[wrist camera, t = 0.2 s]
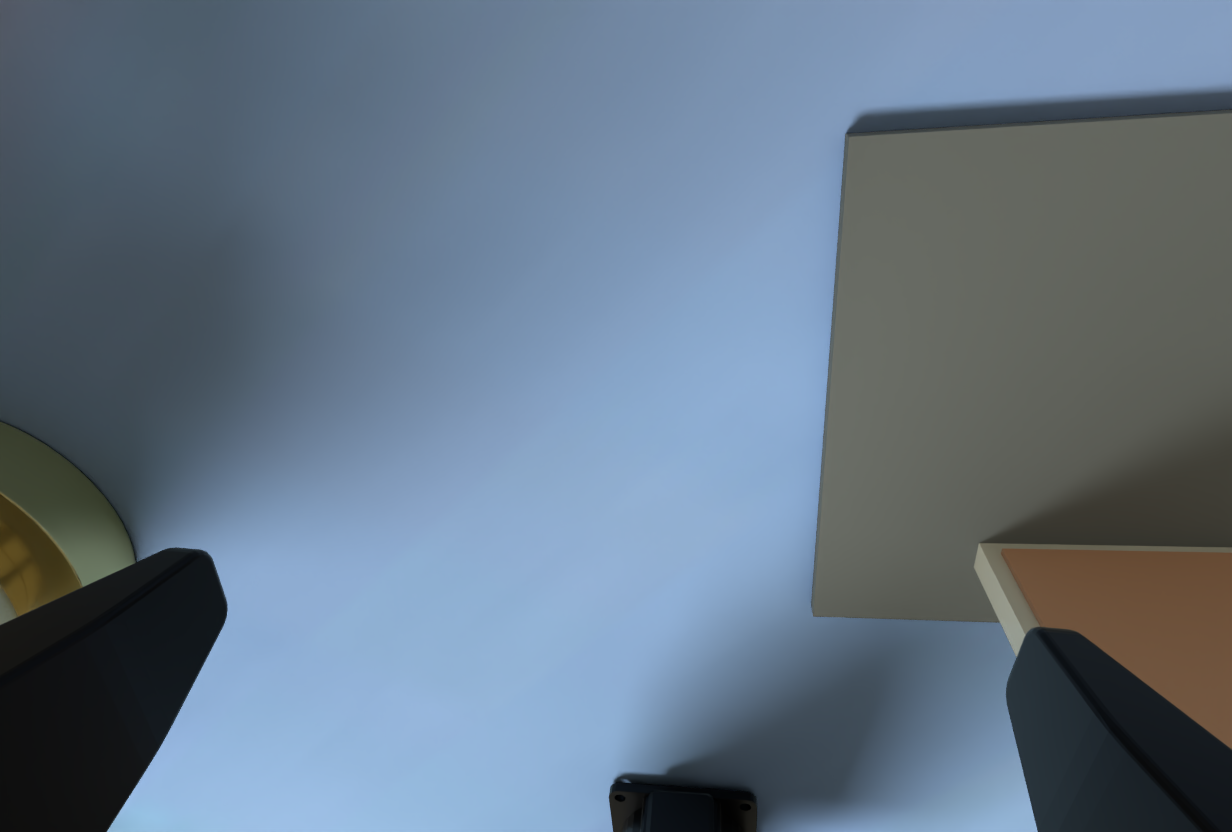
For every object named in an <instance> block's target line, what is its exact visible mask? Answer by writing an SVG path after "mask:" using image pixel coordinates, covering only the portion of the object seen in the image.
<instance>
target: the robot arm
mask: <svg viewBox="0 0 1232 832" xmlns="http://www.w3.org/2000/svg"><path fill="white" fill-rule="evenodd" d="M226 617H227V601H226V597H225V594H224V591H223V588H222V585H221V582H220V579H219V576H218V573H217V570H216V567H215V565H214V562H213V559H212V557H211V556H210V555H209V554H208V553H207V552H205V551H203V550H199V549H188V548H168V549H165V550H162V551H160V552H158V553H156V554H154V555H151V556H149V557H147V558H145V559H143V560H141V561H138V562H136V563H134V564H132V565H130V566H127V567H125V568H123V569H121V570H119V571H117V572H114V573H112V574H110V575H108V576H106V577H103V578H101V579H99V580H97V581H95V582H93V583H90V584H88V585H86V586H84V587H82V588H79V589H77V590H75V591H73V592H71V593H69V594H66V595H64V596H62V597H60V598H58V599H55V600H53V601H51V602H49V603H47V604H45V605H42V606H40V607H38V608H36V609H34V610H31V611H29V612H27V613H25V614H23V615H21V616H18V617H16V618H14V619H12V620H10V621H7V622H5V623H3V624H1V625H0V832H107V831H108V829H109V827H110V826H111V824H112V823H113V821H114V820H115V818H116V816H117V815H118V813H119V812H120V810H121V809H122V807H123V806H124V804H125V802H126V801H127V799H128V798H129V796H130V795H131V793H132V791H133V790H134V788H135V787H136V785H137V784H138V782H139V781H140V779H141V777H142V776H143V774H144V773H145V771H146V770H147V768H148V766H149V765H150V763H151V761H152V760H153V758H154V756H155V755H156V753H157V751H158V750H159V748H160V746H161V745H162V743H163V741H164V739H165V737H166V735H167V734H168V732H169V730H170V728H171V726H172V725H173V723H174V721H175V719H176V717H177V715H178V713H179V711H180V709H181V707H182V705H183V703H184V701H185V699H186V697H187V696H188V694H189V692H190V690H191V688H192V686H193V684H194V682H195V680H196V678H197V676H198V674H199V672H200V670H201V668H202V666H203V665H204V663H205V661H206V659H207V657H208V655H209V653H210V651H211V649H212V647H213V645H214V643H215V641H216V639H217V637H218V636H219V634H220V632H221V630H222V628H223V626H224V623H225V620H226ZM1006 700H1007V706H1008V711H1009V715H1010V719H1011V723H1012V727H1013V731H1014V735H1015V740H1016V744H1017V748H1018V752H1019V756H1020V760H1021V764H1022V768H1023V772H1024V777H1025V781H1026V785H1027V789H1028V793H1029V797H1030V801H1031V805H1032V810H1033V814H1034V818H1035V822H1036V826H1037V830H1038V832H1232V749H1231V748H1230V747H1228V746H1227V745H1226V744H1224V743H1223V742H1222V741H1220V740H1219V739H1218V738H1216V737H1215V736H1214V735H1213V734H1211V733H1210V732H1209V731H1207V730H1206V729H1205V728H1203V727H1202V726H1201V725H1199V724H1198V723H1197V722H1196V721H1194V720H1193V719H1192V718H1190V717H1189V716H1188V715H1186V714H1185V713H1184V712H1183V711H1181V710H1180V709H1179V708H1177V707H1176V706H1175V705H1173V704H1172V703H1171V702H1169V701H1168V700H1167V699H1166V698H1164V697H1163V696H1162V695H1160V694H1159V693H1158V692H1156V691H1155V690H1154V689H1153V688H1151V687H1150V686H1149V685H1147V684H1146V683H1145V682H1143V681H1142V680H1141V679H1139V678H1138V677H1137V676H1136V675H1134V674H1133V673H1132V672H1130V671H1129V670H1128V669H1126V668H1125V667H1124V666H1123V665H1121V664H1120V663H1119V662H1117V661H1116V660H1115V659H1113V658H1112V657H1111V656H1109V655H1108V654H1107V653H1106V652H1104V651H1103V650H1102V649H1100V648H1099V647H1098V646H1096V645H1095V644H1094V643H1092V642H1091V641H1090V640H1089V639H1087V638H1086V637H1085V636H1083V635H1082V634H1080V633H1079V632H1076V631H1074V630H1070V629H1060V628H1049V627H1034V628H1032V629H1030V630H1029V631H1028V632H1027V633H1026V635H1025V637H1024V639H1023V642H1022V645H1021V647H1020V650H1019V652H1018V655H1017V658H1016V660H1015V663H1014V665H1013V668H1012V671H1011V673H1010V676H1009V678H1008V682H1007V687H1006ZM609 802H610V809H611V817H612V825H613V832H756V826H757V799H756V796H755V795H754V794H752V793H750V792H746V791H733V790H718V789H704V788H689V787H674V786H659V785H645V784H630V783H615V784H613V785H612V786H611V787H610V794H609Z"/></svg>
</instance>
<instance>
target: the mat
mask: <svg viewBox="0 0 1232 832" xmlns="http://www.w3.org/2000/svg"><path fill="white" fill-rule="evenodd" d="M979 543H1001V544H1059V545H1117V546H1174V547H1232V109H1230V110H1214V111H1198V112H1183V113H1167V114H1151V115H1135V116H1119V117H1103V118H1087V119H1071V120H1055V121H1039V122H1023V123H1007V124H991V125H975V126H959V127H943V128H927V129H911V130H895V131H879V132H863V133H847V134H845V147H844V161H843V175H842V189H841V202H840V216H839V230H838V243H837V257H836V271H835V285H834V298H833V312H832V326H831V339H830V353H829V367H828V381H827V394H826V408H825V422H824V435H823V449H822V463H821V477H820V490H819V504H818V518H817V531H816V545H815V559H814V573H813V586H812V600H811V606H812V613H813V616H815V617H846V618H877V619H908V620H939V621H969V622H1000V621H999V619H998V617H997V615H996V613H995V611H994V609H993V607H992V604H991V602H990V600H989V598H988V596H987V594H986V592H985V590H984V588H983V585H982V583H981V581H980V579H979V577H978V575H977V573H976V571H975V569H974V564H975V559H976V554H977V550H978V545H979Z"/></svg>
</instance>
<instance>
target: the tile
mask: <svg viewBox="0 0 1232 832" xmlns="http://www.w3.org/2000/svg"><path fill="white" fill-rule="evenodd" d="M974 569H975V571H976V573H977V575H978V577H979V579H980V581H981V583H982V585H983V588H984V590H985V592H986V594H987V596H988V598H989V600H990V602H991V604H992V607H993V609H994V611H995V613H996V615H997V617H998V619H999V621H1000V623H1001V625H1002V628H1003V630H1004V632H1005V634H1006V636H1007V638H1008V640H1009V642H1010V644H1011V646H1012V649H1013V651H1014V653H1015V655H1016V657H1017V655H1018V652H1019V650H1020V647H1021V645H1022V642H1023V639H1024V637H1025V635H1026V633H1027V632H1028V631H1029V630H1030V629H1032V628H1034V627H1049V628H1060V629H1070V630H1074V631H1076V632H1079V633H1080V634H1082V635H1083V636H1085V637H1086V638H1087V639H1089V640H1090V641H1091V642H1092V643H1094V644H1095V645H1096V646H1098V647H1099V648H1100V649H1102V650H1103V651H1104V652H1106V653H1107V654H1108V655H1109V656H1111V657H1112V658H1113V659H1115V660H1116V661H1117V662H1119V663H1120V664H1121V665H1123V666H1124V667H1125V668H1126V669H1128V670H1129V671H1130V672H1132V673H1133V674H1134V675H1136V676H1137V677H1138V678H1139V679H1141V680H1142V681H1143V682H1145V683H1146V684H1147V685H1149V686H1150V687H1151V688H1153V689H1154V690H1155V691H1156V692H1158V693H1159V694H1160V695H1162V696H1163V697H1164V698H1166V699H1167V700H1168V701H1169V702H1171V703H1172V704H1173V705H1175V706H1176V707H1177V708H1179V709H1180V710H1181V711H1183V712H1184V713H1185V714H1186V715H1188V716H1189V717H1190V718H1192V719H1193V720H1194V721H1196V722H1197V723H1198V724H1199V725H1201V726H1202V727H1203V728H1205V729H1206V730H1207V731H1209V732H1210V733H1211V734H1213V735H1214V736H1215V737H1216V738H1218V739H1219V740H1220V741H1222V742H1223V743H1224V744H1226V745H1227V746H1228V747H1230V748H1231V749H1232V547H1174V546H1117V545H1059V544H1001V543H979V545H978V550H977V554H976V559H975V564H974Z"/></svg>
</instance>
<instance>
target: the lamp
mask: <svg viewBox="0 0 1232 832" xmlns="http://www.w3.org/2000/svg"><path fill="white" fill-rule="evenodd" d="M134 563H136V562H135V556H134V551H133V547H132V544H131V541H130V538H129V536H128V534H127V532H126V529H125V527H124V525H123V523H122V521H121V520H120V518H119V517H118V515H117V513H116V512H115V510H114V509H113V507H112V506H111V505H110V503H109V502H108V501H107V499H106V498H105V497H104V495H103V494H102V493H101V492H100V491H99V490H98V489H97V487H96V486H95V485H94V484H93V483H92V482H91V481H90V480H89V479H88V478H87V477H86V476H85V475H84V474H83V473H82V472H81V471H80V470H79V469H78V468H76V467H75V466H74V465H73V464H71V463H70V462H69V461H68V460H66V459H65V458H64V457H63V456H61V455H60V454H59V453H57V452H56V451H54V450H53V449H51V448H50V447H49V446H47V445H46V444H44V443H42V442H41V441H39V440H37V439H35V438H34V437H32V436H30V435H29V434H27V433H25V432H23V431H21V430H19V429H16V428H14V427H12V426H10V425H8V424H5V423H3V422H0V625H1V624H3V623H5V622H7V621H10V620H12V619H14V618H16V617H18V616H21V615H23V614H25V613H27V612H29V611H31V610H34V609H36V608H38V607H40V606H42V605H45V604H47V603H49V602H51V601H53V600H55V599H58V598H60V597H62V596H64V595H66V594H69V593H71V592H73V591H75V590H77V589H79V588H82V587H84V586H86V585H88V584H90V583H93V582H95V581H97V580H99V579H101V578H103V577H106V576H108V575H110V574H112V573H114V572H117V571H119V570H121V569H123V568H125V567H127V566H130V565H132V564H134Z"/></svg>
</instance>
